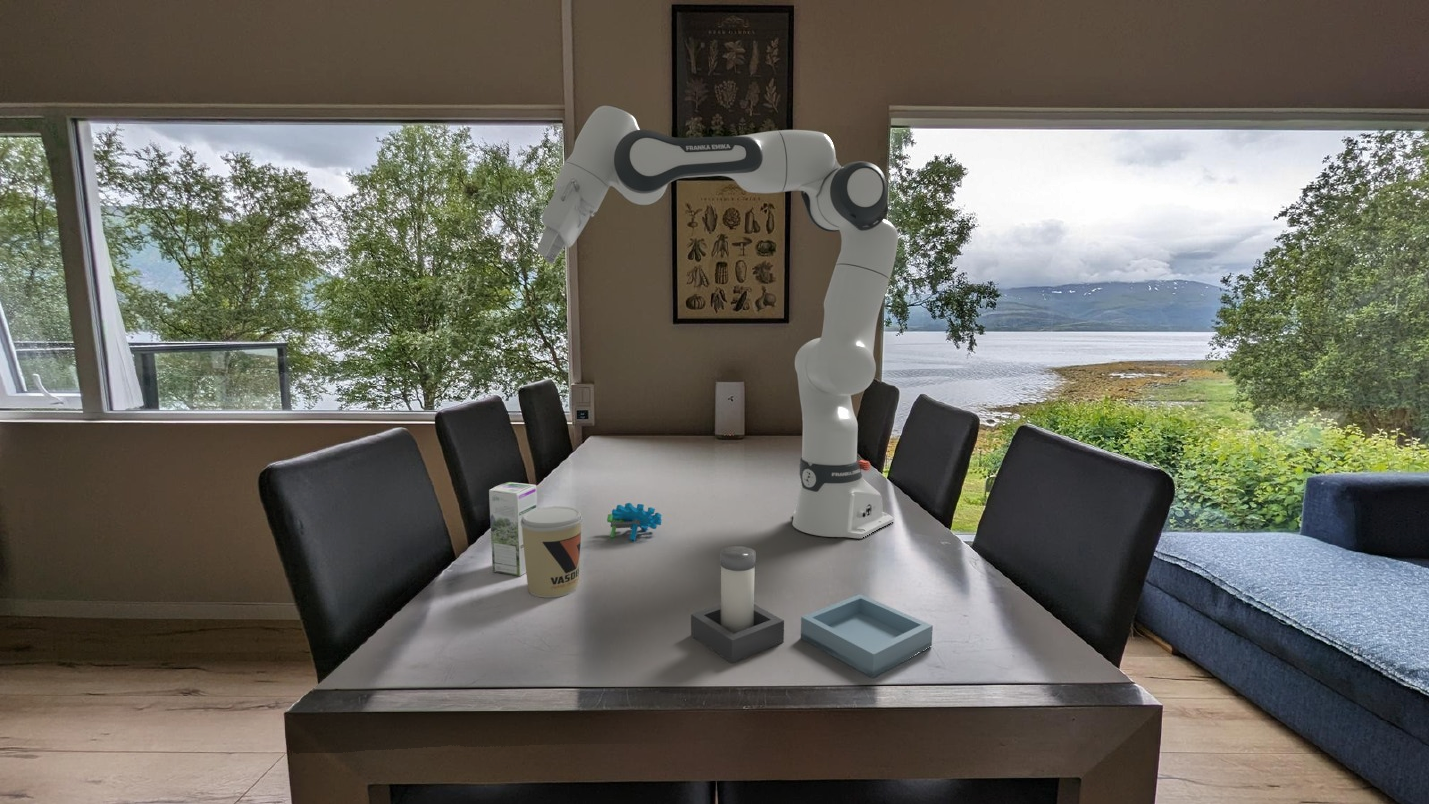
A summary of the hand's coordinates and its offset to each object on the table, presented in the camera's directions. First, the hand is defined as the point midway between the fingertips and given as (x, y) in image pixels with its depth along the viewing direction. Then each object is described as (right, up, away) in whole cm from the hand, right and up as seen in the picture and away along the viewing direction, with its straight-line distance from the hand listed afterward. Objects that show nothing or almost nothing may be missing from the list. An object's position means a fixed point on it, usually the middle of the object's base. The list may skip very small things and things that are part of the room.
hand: (544, 258), depth 115 cm
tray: (+51, -58, -31) cm, 83 cm away
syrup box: (-3, -55, -7) cm, 55 cm away
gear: (+15, -53, +10) cm, 56 cm away
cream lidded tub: (+5, -56, -15) cm, 58 cm away
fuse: (+34, -58, -31) cm, 74 cm away
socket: (+34, -58, -31) cm, 74 cm away
